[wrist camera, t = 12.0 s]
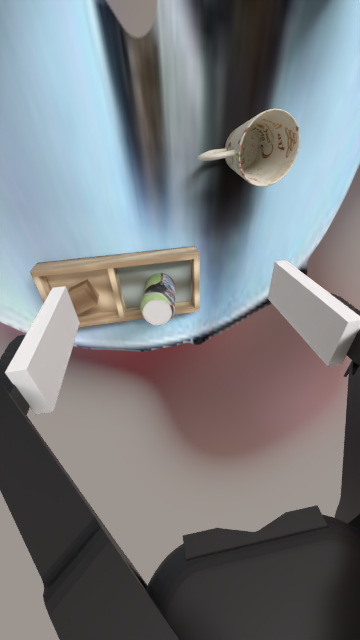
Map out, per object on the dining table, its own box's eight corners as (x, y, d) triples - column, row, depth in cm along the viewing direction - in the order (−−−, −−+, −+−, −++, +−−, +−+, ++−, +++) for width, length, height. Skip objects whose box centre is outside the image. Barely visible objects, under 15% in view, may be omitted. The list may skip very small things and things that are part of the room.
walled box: (37, 262, 45) (30, 272, 42) (194, 246, 48) (199, 253, 44) (61, 318, 52) (56, 330, 49) (195, 301, 55) (199, 311, 52)
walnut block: (69, 287, 48) (65, 297, 44) (87, 279, 47) (84, 288, 44) (82, 302, 50) (79, 313, 47) (99, 294, 49) (96, 305, 46)
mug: (264, 173, 42) (295, 180, 34) (195, 188, 42) (210, 198, 34) (267, 111, 37) (304, 102, 29) (188, 127, 37) (204, 122, 29)
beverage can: (169, 299, 53) (177, 333, 43) (135, 292, 50) (136, 327, 41) (178, 273, 49) (189, 304, 40) (142, 265, 47) (145, 295, 37)
